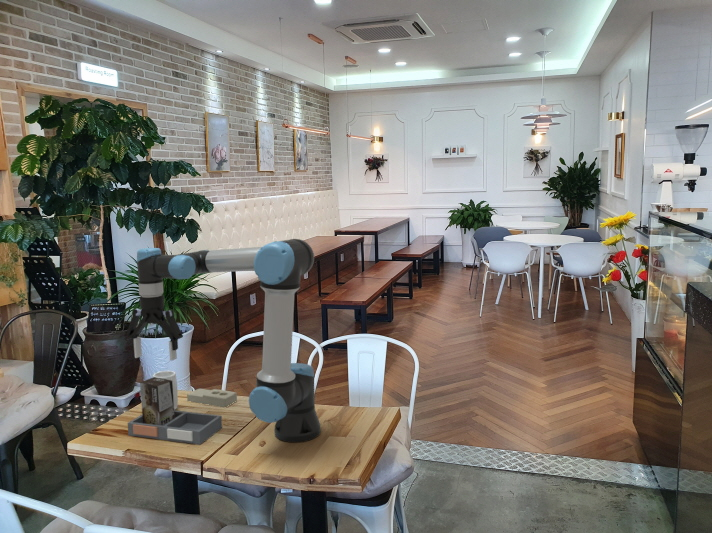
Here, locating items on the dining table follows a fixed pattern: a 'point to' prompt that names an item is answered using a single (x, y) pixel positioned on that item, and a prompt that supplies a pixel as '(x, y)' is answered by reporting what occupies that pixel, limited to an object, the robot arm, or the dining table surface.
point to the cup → (172, 376)
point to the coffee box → (157, 401)
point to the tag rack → (179, 427)
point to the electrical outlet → (212, 397)
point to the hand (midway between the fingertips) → (155, 358)
